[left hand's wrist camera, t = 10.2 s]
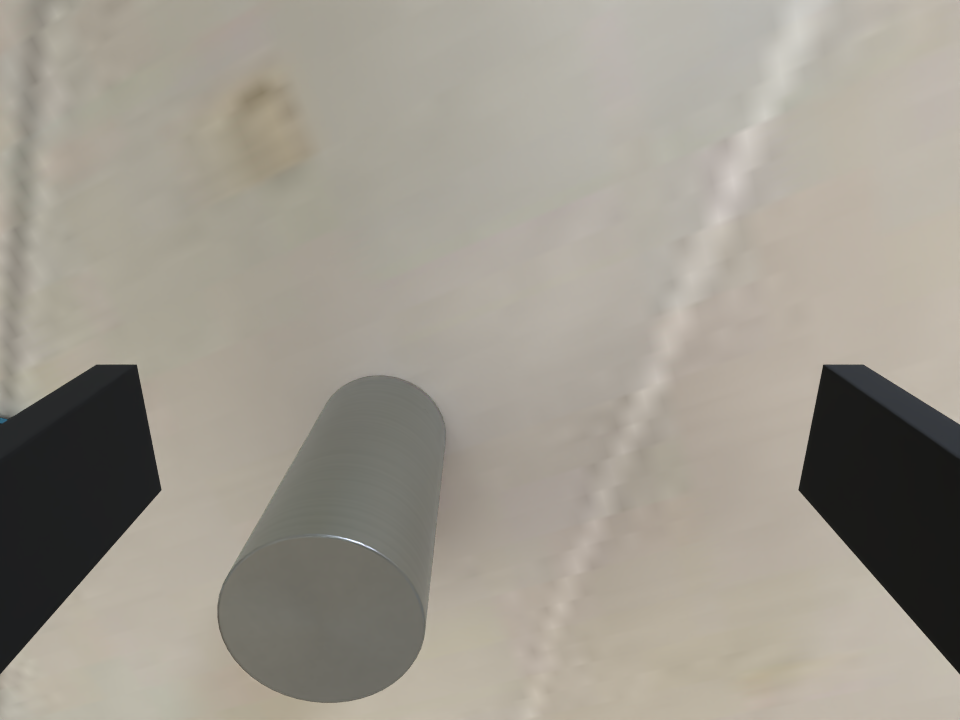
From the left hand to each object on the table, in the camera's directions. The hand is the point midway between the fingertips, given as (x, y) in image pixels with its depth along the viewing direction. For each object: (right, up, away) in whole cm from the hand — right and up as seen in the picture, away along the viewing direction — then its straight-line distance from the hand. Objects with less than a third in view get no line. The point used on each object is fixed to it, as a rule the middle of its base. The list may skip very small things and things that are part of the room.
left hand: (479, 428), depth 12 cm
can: (-4, -2, +17) cm, 18 cm away
